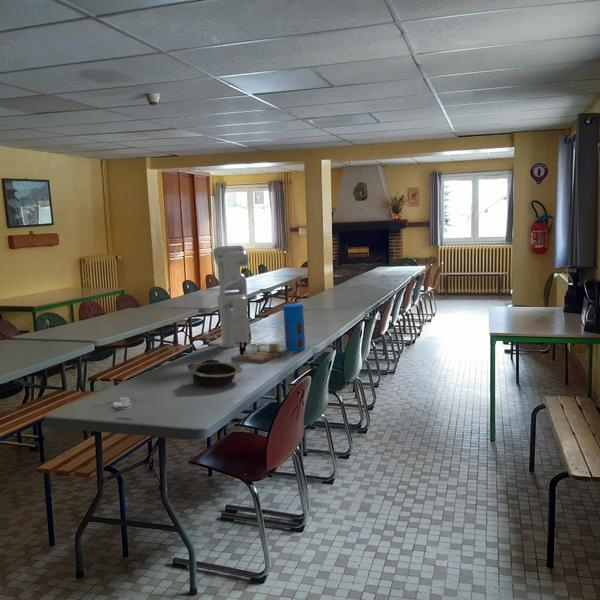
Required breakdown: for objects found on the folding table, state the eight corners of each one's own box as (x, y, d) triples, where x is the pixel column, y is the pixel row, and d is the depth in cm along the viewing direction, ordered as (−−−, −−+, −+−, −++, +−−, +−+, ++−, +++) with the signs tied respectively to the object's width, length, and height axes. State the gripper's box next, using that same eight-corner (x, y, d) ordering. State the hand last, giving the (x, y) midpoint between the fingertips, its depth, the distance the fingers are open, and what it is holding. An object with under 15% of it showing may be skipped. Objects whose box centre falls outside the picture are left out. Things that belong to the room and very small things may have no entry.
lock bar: (254, 349, 323) (253, 343, 323) (260, 349, 322) (260, 343, 322) (243, 357, 307) (242, 350, 306) (249, 357, 306) (249, 350, 305)
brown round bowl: (182, 380, 275) (182, 360, 274) (234, 376, 284) (234, 357, 283) (192, 392, 252) (192, 371, 251) (249, 388, 261) (249, 367, 260)
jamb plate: (253, 352, 327) (253, 349, 327) (283, 355, 317) (283, 351, 317) (231, 360, 310) (231, 357, 310) (263, 363, 300) (262, 359, 300)
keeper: (271, 350, 321) (271, 343, 320) (279, 351, 318) (279, 343, 318) (269, 351, 319) (269, 344, 318) (277, 351, 316) (277, 344, 316)
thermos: (306, 347, 334) (303, 303, 331) (304, 351, 324) (301, 306, 321) (287, 347, 336) (284, 304, 332) (284, 351, 325) (282, 306, 322)
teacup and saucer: (110, 408, 239) (109, 398, 239) (128, 403, 245) (127, 393, 244) (120, 412, 233) (119, 402, 233) (138, 407, 239) (137, 397, 238)
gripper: (224, 320, 309) (227, 354, 312) (248, 322, 302) (250, 357, 304) (233, 318, 316) (235, 351, 318) (256, 319, 308) (258, 353, 311)
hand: (242, 354), depth 311 cm, fingers closed
